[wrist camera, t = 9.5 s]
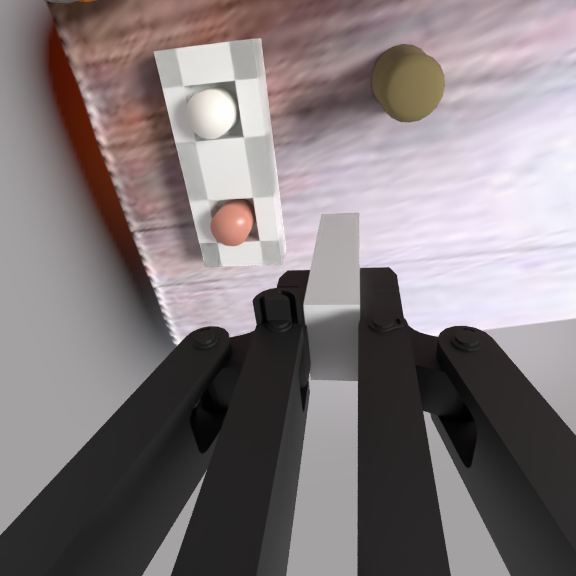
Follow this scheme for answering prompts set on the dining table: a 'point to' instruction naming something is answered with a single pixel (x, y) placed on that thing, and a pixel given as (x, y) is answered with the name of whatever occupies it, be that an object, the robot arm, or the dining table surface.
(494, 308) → the dining table surface
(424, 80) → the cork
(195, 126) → the white rounded piece
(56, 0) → the reusable coffee cup
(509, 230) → the dining table surface
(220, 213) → the salmon rounded knob
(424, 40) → the dining table surface
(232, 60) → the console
